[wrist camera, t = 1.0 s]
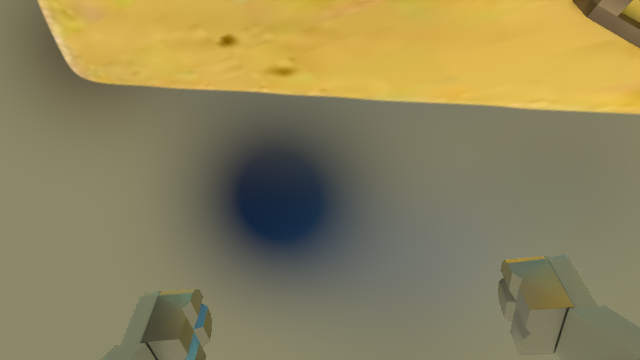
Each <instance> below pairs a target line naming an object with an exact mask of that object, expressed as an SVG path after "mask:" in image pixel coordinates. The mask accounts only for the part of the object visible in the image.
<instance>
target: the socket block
mask: <svg viewBox="0 0 640 360" xmlns="http://www.w3.org/2000/svg"><path fill="white" fill-rule="evenodd" d="M632 1H633V0H573V2H574V3H575V4H576V6H577V7H578V8H579V9H580V10H581V11H582V12H583V14H584V15H585V16H586V17H587V18H589V19H591V20H592V21H594V22H596V23H598V24H599V25H601V26H603V27H604V28H606V29H608V30H610V31H611V32H613V33H615V34H616V35H618V36H620V37H622V38H623V39H625V40H627V41H628V42H630V43H632V44H633V45H635V46H637V47H639V48H640V23H638V22H636V21H635V20H633V19H631V18H630V17H628V16H626V15H625V14H623V13H621V12H622V11H623V10H624V9H625V8H626V7H627V6H628V5H629V4H630V3H631V2H632Z"/></svg>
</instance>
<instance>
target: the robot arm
mask: <svg viewBox="0 0 640 360" xmlns="http://www.w3.org/2000/svg"><path fill="white" fill-rule="evenodd" d="M501 272H502V274H503V278H502V279H501V280H500V281H499V285H498V296H499V302H500V306H501V309H502V312H503V315H504V317H505V318H506V319H508V320H509V321H510V322H512V325H511V331H510V333H511V335H512V338H513V340H514V343H515V345H516V347H517V350H518V352H519V355H534V354H555V356H556V357H557V358H558V359H559V360H640V327H638V326H636V325H635V324H633V323H631V322H630V321H628V320H627V319H625V318H624V317H622V316H621V315H619V314H617V313H616V312H614V311H613V310H611V309H609V308H608V307H606V306H598V304H597V303H596V301H595V299H594V298H593V296H592V295H591V293H590V291H589V290H588V288H587V286H586V285H585V283H584V282H583V280H582V278H581V277H580V275H579V274H578V272H577V270H576V269H575V267H574V265H573V264H572V262H571V261H570V259H569V258H568V257H567V256H566V255H564V254H563V255H553V256H544V257H542V256H539V257H530V258H520V259H510V260H504V261H503V262H502V265H501ZM202 300H203V296H202V293H201V292H200V290H199V289H186V290H171V291H158V292H145V293H143V295H142V296H141V297H140V298H139V301H138V303H137V305H136V308H135V310H134V313H133V315H132V318H131V320H130V323H129V325H128V328H127V330H126V333H125V335H124V337H123V340H122V342H121V345H116V346H114V347H113V348H112V349H111V350H110V351H109V352H108V353H107V354H105V355H104V356H103V357H102V358H101V359H100V360H206V354H205V352H204V350H203V348H204V347H205V345H206V344H207V343H208V342H209V341H210V337H211V332H212V318H211V313H210V311H209V308H208V307H207V306H205V305H204V304H202Z"/></svg>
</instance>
